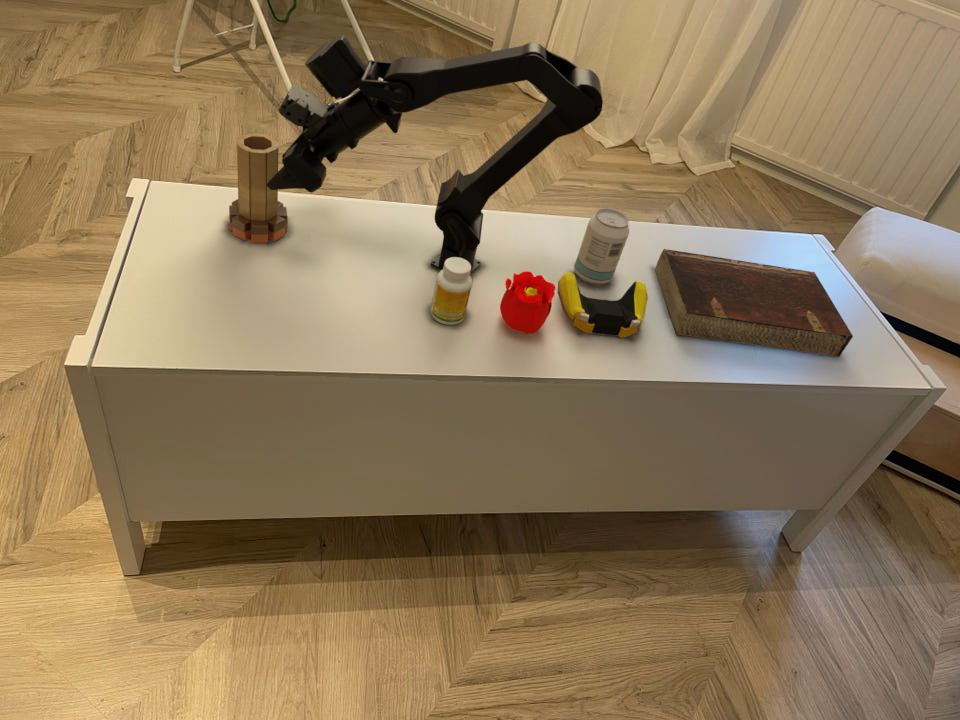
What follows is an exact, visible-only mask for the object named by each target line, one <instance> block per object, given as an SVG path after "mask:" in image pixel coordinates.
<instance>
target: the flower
mask: <svg viewBox="0 0 960 720" xmlns="http://www.w3.org/2000/svg"><path fill="white" fill-rule="evenodd" d="M512 275H513V276H512V279H510V278H509V277H508V278H506V280H505V283H504V285H505V289H506V290H505V291H504V293H503V296H502V299H501V301H500V305H499V310H500V311H499V312H500V315H501V318H502V320H503V322H504V323H505V325H506V326H507V327H508V328H509V329H510V330H512V331H516V332H519V333H522V334H527V335H528V334H529V335H531V334H536V333H537V332H538V331H539V330H540V329H541V328H542V327H543V326H544V324H545V322H546V321H547V319H548V317H549V316H550V314H551V310H552V304H553V298H554V297H555V295H556V293H555V291H556V285H555V284H554V283H552V282H549V281H547V280H546V279H545V278H544V276H543V275H541V274H538V275H535V276H534V274H533V273H532V272H531V271H528V270H527V271H526V270H525V271H522V272H520V273H518V274H517V273H513V274H512Z"/></svg>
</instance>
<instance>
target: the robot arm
mask: <svg viewBox="0 0 960 720" xmlns="http://www.w3.org/2000/svg"><path fill="white" fill-rule="evenodd" d="M304 65H305V67H306V68H307V69H308V71H309V72H310V73H311V75H313V76H314V78H315V79H316V80H317V82H318V83H319V84H320V85H321V86H322V88H323V89H324V90H325V91H326V92H327V93H328V95H329V96H330V97H331V98H334V100H339V99H341V100H342V99H345V98H346V99H345V100H343V101H341V102H339V101H336V102H335V101H332V102H331V103H329V104H328V103H326V102H323V101H322V100H321V99H320V98H318V96H316V95H314V94H313V93H311V92H310V91H308V90H307V89H305V88H304V87H302V86H301V85H299V84H295V83H294V84H292V85H291V87H290V88H289V91H288V92H287V93H286V95H285V97H284V99H283V101H282V102H281V104H280V106H279V108H278V113H279V115H281V116H282V117H283V118H284V119H285V120H287V121H289V122H290V123H292V124H293V125H295V126H296V127H302V131H301V133H300V134H299V135H298V136H297V137H296V139H295V140H294V141H293V142H292V143H291V144H290V146H289V147H288V148H287V149H286V150H285V152H284V153H283V154H282V155H281V162H282V165H283V166H282V167H281V168H279V169H278V172H277V173H276V174H275V175H274V176H273V178H272V179H271V180H270V181H269V182H268V183H267V186H268V188H269V189H270V190H278V191H279V190H291V189H292V190H293V189H295V190H296V189H299V190H305V191H307V192H308V193H311V194H313V193H315V192H316V191H317V190H319V189H320V188H322V186H323V184H324V181H325V179H326V177H327V167H326V165H325V164H324V163H323V160H324V158H326V160H327V161H328V162H329V163H330V164H333V163H334V162H336V161H337V159H338V157H339V154H342V153H343V152H344V151H345V150H347V149H348V148H349V149H350V150H351V151H352V150H353V149H355V148H356V147H357V146H358V145H359V141H360V140H361V139H364V138H365V137H366V136H368V135H370V134H371V133H372V132H374V131H375V130H376V129H378V128H380V127H381V126H382V125H384V124H386V126H387V127H388V128H389V129H390V130H391V132H392V133H393V134H397V133H398V132H399V129H400V127H401V123H402V116H403V114H404V113H405V114H406V113H409V112H413V111H415V110H419V109H421V108H423V107H426V106H428V105H430V104H432V103H433V102H436V101H437V100H439V99H440V98H443V97H446V96H449V95H451V94H456V93H457V94H458V93H462V92H467V91H474V90H479V89H485V88H489V87H490V88H492V87H496V86H502V85H509V84H513V83H519V82H525V81H527V82H529V83H530V84H532V85H533V86H534V87H535V88H536V89H538V90H539V91H540V93H542V94H543V96H544V97H546V98H547V99H546V102H545V103H544V105H543V107H542V108H541V109H540V111H539V112H538V113H537V114H536V115H535V116H534V117H532V119H531V120H529V122H528V123H526V124H525V125H524V126H523V127H522V128H521V129H519V130H518V131H517V133H515V134H514V135H513V136H512V137H511V138H510V139H508V141H506V142H505V143H504V144H503V145H502V146H501V147H500V148H499V149H497V150H496V152H494V153H493V154H492V155H491V156H490V157H489V158H488V159H487V160H486V161H485V162H483V163H482V164H481V165H480V166H479V167H478V168H477V169H476V170H475V171H473V172H471V173H468V174H465V175H464V174H463V173H462V172H461V170H460V169H457V170H455V172H454V173H453V174H452V176H451V177H450V178H449V179H448V180H445V181H443V182H441V185H440V190H439V193H438V198H437V203H436V206H435V212H434V223H435V225H436V227H437V228H438V229H439V230H440V231H441V232H442V235H443V237H442V238H443V239H442V244H441V248H440V254H438V255H437V256H436V257H434V258H433V259H432V260H431V261H430V264H429V265H430V266H431V267H433V268H435V269H437V270H439V271H441V270H443V267H444V263H445V261H446V260H447V259H448V258H451V257H459V258H463V259H465V260H467V261H468V262H469V263H470V265H471V272H470V275H472V274H473V273H474V272H475V271H477V270H478V269H479V268H480V267H481V266H482V261H480V260H478V259H476V254H477V249H478V247H479V245H480V244H481V239H482V229H483V221H484V212H482V210H483V209H484V207H485V206H486V204H487V202H488V201H489V199H490V198H491V197H492V196H493V195H494V194H495V193H496V192H498V191H499V190H501V188H502V187H504V185H505V184H507V183H508V182H509V181H510V180H512V179H513V178H514V177H515V176H516V175H517V174H518V173H520V171H522V170H523V169H524V168H525V167H526V166H527V165H529V164H530V163H531V162H532V161H533V160H534V159H535V158H536V157H538V156H539V155H540V154H541V153H542V152H543V151H544V150H546V149H547V148H548V147H549V146H550V145H551V144H553V142H555V141H556V140H557V139H559V138H562V137H565V136H568V135H569V136H570V135H572V134H575V133H576V132H579V131H580V130H582V129H583V128H585V127H586V126H588V125H590V124H591V123H593V122H594V121H596V120H597V119H598V117H599V116H600V115H601V114H602V111H603V103H604V101H603V94H602V93H603V92H602V85H601V80H600V78H599V76H598V75H597V73H595V72H594V71H593V70H592V69H589V68H586V67H578V66H577V65H575V64H574V63H573V62H571V61H570V60H569V59H567V58H565V57H562V56H560V55H558V54H556V53H554V52H552V51H550V50H549V49H548V48H546V47H544V46H543V45H541V43H538V42H532V41H531V42H527V43H525V44H523V45H518V46H514V47H508V48H503V49H498V50H493V51H488V52H487V51H486V52H481V53H477V54H471V55H465V56H460V57H455V58H450V59H434V58H430V57H425V56H413V57H412V56H408V57H407V56H406V57H404V56H403V57H399V58H396V59H394V60H393V61H387V60H386V61H385V60H373V59H372V60H371V59H369V60H368V61H367V63H366V64H365V63H364V61H363V60H362V59H361V57H360V56H359V54H358V53H357V52H356V51H355V49H354V48H353V46H352V44H351V42H350V40H349V39H348V38H347V36H346V35H344V34H341V35H340V36H339V37H338V38H334V39H332V40H331V41H326V42H325V43H323V44H322V45H321V46H320V47H318V48H317V49H316V50H315V51H314V52H313V53H312V54H311V55H309V57H308V58H307V60H306V61H305V62H304ZM379 79H382V80H379ZM358 89H359V90H358ZM356 90H357V91H356ZM355 91H356V92H355ZM354 92H355V93H354ZM352 93H353V94H352Z"/></svg>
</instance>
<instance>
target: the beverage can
mask: <svg viewBox="0 0 960 720" xmlns="http://www.w3.org/2000/svg"><path fill="white" fill-rule="evenodd" d="M629 223H630V222H629V218H628V217H627V216H626V215H625V214H624V213H623V212H621V211H619V210H616V209H613V208H600V209H598V210H597V211H596V212H595V214H594V215H592V216H591V217H590V218H589V220H588V223H587V226H586V229H585V232H584V235H583V238H582V240H581V244H580V247H579V251H578V252H577V257H576V259H575V263H574V265H573V269H574V272H575V273H576V275H577V276H578V277H579V278H580V279H581V280H582V281H583V282H585V283H587V284H591V285H601V284H606V283H609V282H611V281H612V280H613V277H614V275H615V273H616V270H617V267H618V264H619V261H620V259H621V257H622V253H623V252H624V248H625V246H626V243H627V240H628V238H629V235H630V226H629Z"/></svg>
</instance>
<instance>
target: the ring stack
mask: <svg viewBox="0 0 960 720" xmlns="http://www.w3.org/2000/svg"><path fill="white" fill-rule="evenodd" d="M228 214H229V215H228V216H229V217H228V218H229V231H230V232H232V235H233V236H235V237H236V238H238V239H240V240H243V241H244V242H246V241H248V240H250V243H252V244H269V240H271V241H272V242H276V241H278V240H279V239H281V238H283V237H285V236H286V233H287V232H288V209H287V206H284V203H283V202H282V201H279V200H278V207H277V215H276V216H275V217H273V218H271V219H269V220H266V221H252V220H249V219H247V218H245V217H243V216H242V215H240V214H239V211H238V198H236V199H235V200H233V201H232V202H231V205H228Z"/></svg>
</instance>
